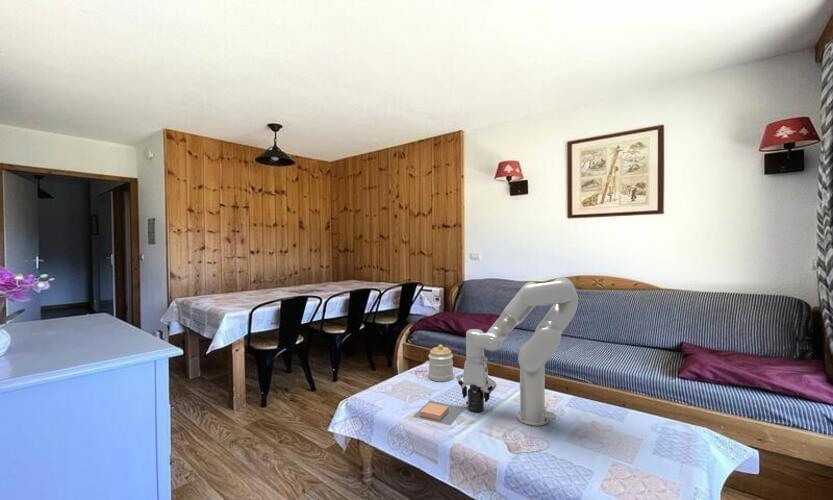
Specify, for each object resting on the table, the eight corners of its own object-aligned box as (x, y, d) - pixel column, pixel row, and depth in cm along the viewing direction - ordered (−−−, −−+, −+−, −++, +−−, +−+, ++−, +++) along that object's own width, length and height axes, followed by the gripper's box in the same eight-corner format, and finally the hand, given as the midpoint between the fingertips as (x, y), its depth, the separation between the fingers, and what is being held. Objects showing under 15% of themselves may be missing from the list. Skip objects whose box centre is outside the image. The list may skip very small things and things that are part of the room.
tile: (448, 406, 160) (440, 415, 152) (448, 411, 160) (440, 421, 152) (429, 402, 164) (420, 411, 156) (429, 407, 164) (420, 416, 156)
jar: (453, 373, 207) (453, 341, 206) (452, 382, 194) (452, 348, 193) (430, 372, 209) (429, 341, 208) (427, 381, 196) (427, 347, 195)
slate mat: (465, 409, 164) (465, 407, 164) (450, 426, 149) (450, 425, 149) (429, 401, 172) (429, 400, 172) (412, 418, 157) (412, 416, 157)
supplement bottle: (473, 405, 167) (472, 378, 167) (487, 410, 163) (486, 382, 162) (464, 411, 162) (464, 383, 161) (478, 416, 157) (478, 387, 157)
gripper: (497, 359, 161) (498, 398, 161) (459, 354, 169) (459, 391, 169) (492, 364, 154) (493, 406, 155) (452, 358, 162) (453, 398, 163)
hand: (475, 398), depth 162 cm, fingers open, 9 cm apart
